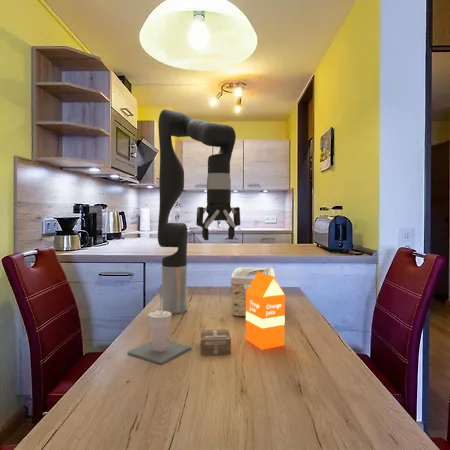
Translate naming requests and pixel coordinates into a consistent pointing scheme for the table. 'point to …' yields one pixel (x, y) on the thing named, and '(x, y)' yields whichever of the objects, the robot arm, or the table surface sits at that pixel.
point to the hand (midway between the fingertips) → (218, 239)
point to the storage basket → (244, 286)
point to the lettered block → (215, 341)
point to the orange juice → (265, 312)
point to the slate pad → (159, 357)
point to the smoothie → (159, 328)
